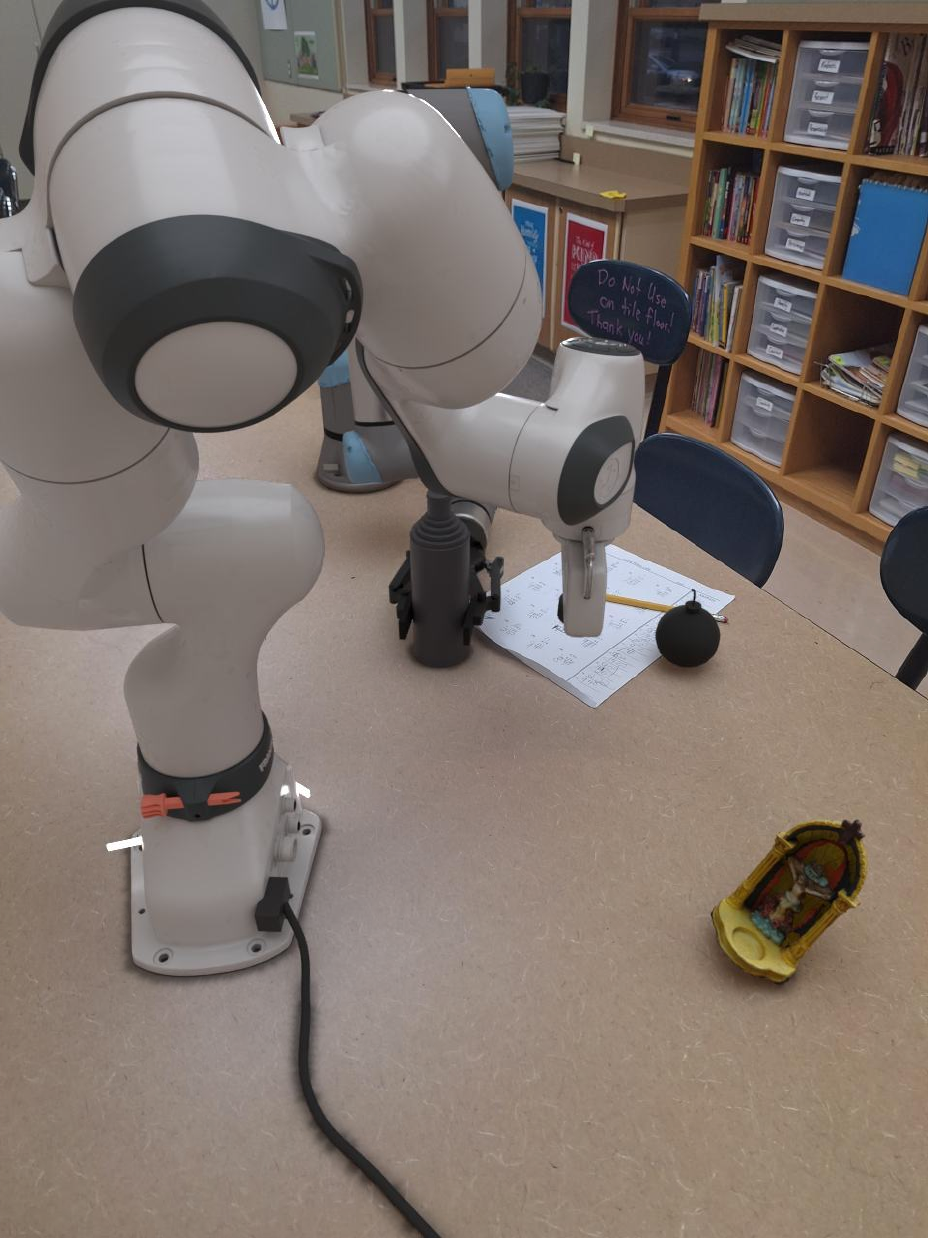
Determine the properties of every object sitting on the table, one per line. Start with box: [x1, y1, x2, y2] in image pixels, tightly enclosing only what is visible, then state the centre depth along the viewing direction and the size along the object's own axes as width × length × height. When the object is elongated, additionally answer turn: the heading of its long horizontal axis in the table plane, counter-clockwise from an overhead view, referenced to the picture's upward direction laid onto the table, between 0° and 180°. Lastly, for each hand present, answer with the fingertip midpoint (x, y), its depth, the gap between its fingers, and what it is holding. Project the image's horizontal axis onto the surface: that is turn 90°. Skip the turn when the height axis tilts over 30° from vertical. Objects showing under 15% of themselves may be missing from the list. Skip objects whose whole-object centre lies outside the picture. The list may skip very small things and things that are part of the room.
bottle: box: [408, 489, 470, 669], centre depth 106 cm, size 7×7×23 cm
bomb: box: [654, 588, 722, 669], centre depth 107 cm, size 8×8×12 cm
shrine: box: [710, 818, 868, 986], centre depth 72 cm, size 12×8×15 cm
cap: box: [556, 592, 564, 625], centre depth 91 cm, size 4×4×2 cm
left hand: (575, 618), depth 92 cm, fingers closed on cap, 4 cm apart
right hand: (434, 633), depth 105 cm, fingers closed on bottle, 7 cm apart
